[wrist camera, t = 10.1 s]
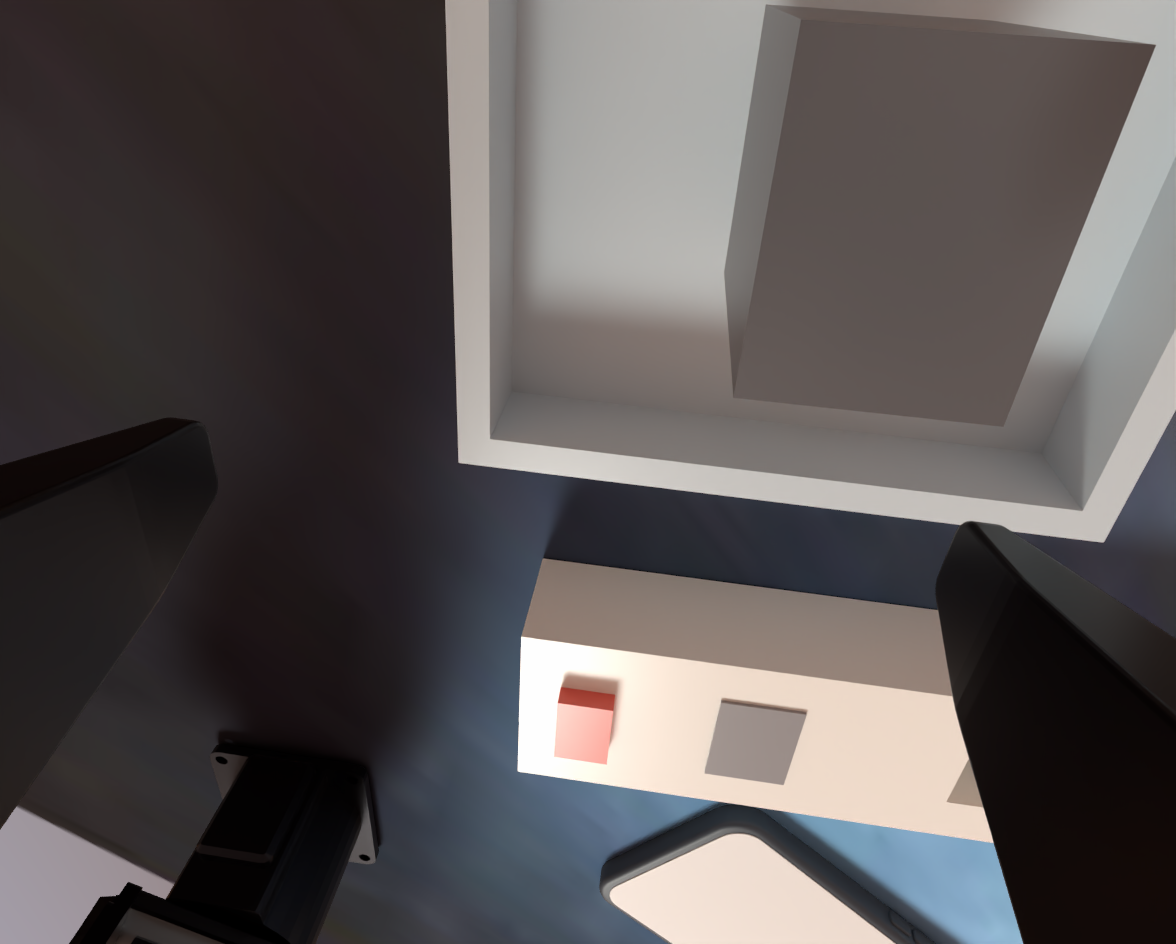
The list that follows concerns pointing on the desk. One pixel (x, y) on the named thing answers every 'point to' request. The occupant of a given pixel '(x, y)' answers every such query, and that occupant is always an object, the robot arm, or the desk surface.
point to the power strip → (744, 698)
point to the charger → (913, 205)
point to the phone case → (745, 888)
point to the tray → (697, 287)
